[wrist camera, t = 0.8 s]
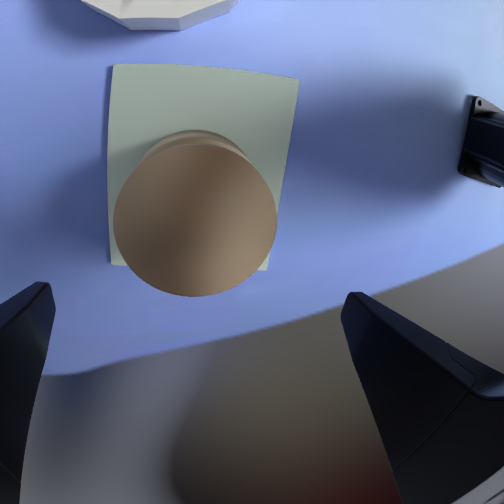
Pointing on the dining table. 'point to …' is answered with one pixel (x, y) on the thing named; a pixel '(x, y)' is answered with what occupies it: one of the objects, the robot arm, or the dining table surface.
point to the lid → (194, 215)
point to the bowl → (161, 12)
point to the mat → (197, 119)
